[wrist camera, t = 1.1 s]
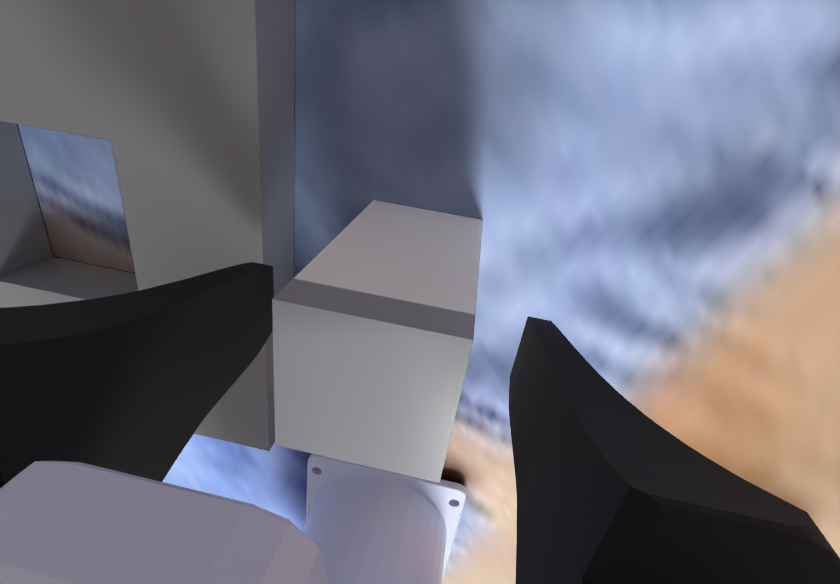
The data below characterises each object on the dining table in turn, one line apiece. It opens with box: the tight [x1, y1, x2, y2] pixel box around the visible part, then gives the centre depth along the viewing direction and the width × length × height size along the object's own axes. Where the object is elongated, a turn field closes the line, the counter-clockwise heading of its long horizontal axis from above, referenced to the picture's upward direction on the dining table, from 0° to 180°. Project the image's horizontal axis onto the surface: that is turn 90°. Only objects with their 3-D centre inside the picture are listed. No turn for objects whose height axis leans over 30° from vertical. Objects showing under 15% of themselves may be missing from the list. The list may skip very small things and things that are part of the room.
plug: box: [272, 200, 483, 483], centre depth 13 cm, size 4×4×8 cm
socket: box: [0, 0, 295, 451], centre depth 16 cm, size 18×16×2 cm
